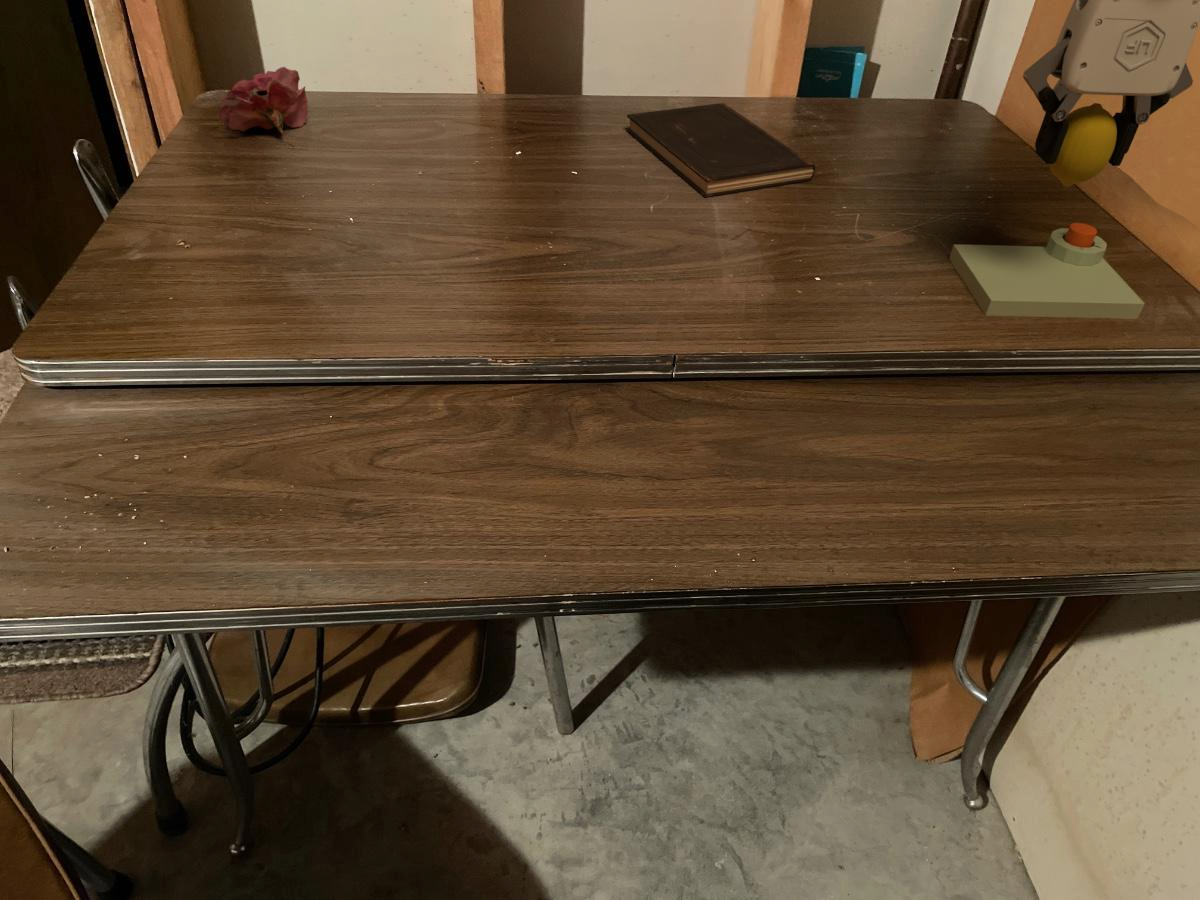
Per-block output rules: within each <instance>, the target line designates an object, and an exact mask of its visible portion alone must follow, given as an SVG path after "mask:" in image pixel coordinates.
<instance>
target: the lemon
mask: <svg viewBox="0 0 1200 900" xmlns="http://www.w3.org/2000/svg"><path fill="white" fill-rule="evenodd" d="M1065 120H1066V121H1067V122H1068V123H1069V128H1068V130H1067V133H1066V136H1065V138H1064V141H1063V144H1062V147H1061V149H1060V152H1059V155H1058V157H1057V160H1056V162H1055V163H1053V164H1047V165H1048V167H1049V171H1050V172H1051V173H1052V174H1053V175H1054V177H1055V178H1057V179H1058V180H1060V183H1061V184H1062V186H1063V187H1065V188H1070V187H1071V186H1073V185H1075V184H1078V183H1085V182H1088V181H1089V180H1091V179H1093V178H1095V177H1096V176H1097V175H1099V174H1100V173H1101V172H1102V171H1103V170H1104V168H1106V166H1107V164H1108V163H1109V162H1108V161H1109V159H1110V157H1111V155H1112V153H1113V151H1114V147H1115V144H1116V138H1117V127H1116V122H1115V120H1114V118H1113V115H1112V114H1111V113H1110V112H1109V111H1108V110H1107V109H1105V108H1103V105H1102V104H1101V103H1098V102H1094V103H1093V104H1091V105H1085V106H1082V107H1079V108H1076V109H1074V110H1071V111H1070V112H1069V114H1068V115H1067V117H1066V119H1065Z"/></svg>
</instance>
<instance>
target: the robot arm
mask: <svg viewBox="0 0 1200 900" xmlns="http://www.w3.org/2000/svg"><path fill="white" fill-rule="evenodd" d="M1199 24H1200V0H1073V2H1072V4H1071V7H1070V9H1069V11H1068V14H1067V15H1066V18H1065V20H1064V23H1063V25H1062V28H1061V30H1060V33H1059V36H1058V38H1057V40H1056V43H1055V46H1054V47H1052V48H1051V49H1050V50H1048V52H1046V53H1045V54H1044V55H1043V56H1042V57H1040V58H1039V59H1038V60H1037V61H1035V62H1034V63H1033V64H1032V65H1030V66H1029V67H1028V68H1027V69H1025V70H1024V72H1023V74H1022V78H1023V80H1024V82H1025V83H1026V84H1027V85H1028V87H1029V88H1030V90H1031V91H1032V92H1033V94H1034V96H1035V98H1036V99H1037V101H1038V102H1039V104H1040V106H1041V109H1042V110H1043V112H1044V113H1045V114H1044V117H1043V119H1042V122H1041V125H1040V127H1039V130H1038V133H1037V136H1036V139H1035V142H1034V148H1035V154H1036V155H1037V156H1038V157H1039V158H1040V159H1041V160H1042V162H1044V164H1046V165H1048V164H1053V163H1055V162H1056V160H1057V157H1058V155H1059V152H1060V149H1061V147H1062V144H1063V141H1064V138H1065V136H1066V133H1067V130H1068V128H1069V123H1068V122H1067V121H1066V120H1065V119H1066V117H1067V115H1068V114H1069V113H1071V112H1072V111H1073V108H1074V107H1075V106H1076V104H1077V103H1078V102H1079V100H1080V98H1081V97H1082V96H1083V95H1095V96H1096V95H1097V96H1100V95H1101V96H1122V105H1121V111H1120V112H1117V111H1116V112H1115V113H1114V115H1112V117H1113V118H1114V120H1115V122H1116V127H1117V138H1116V144H1115V147H1114V151H1113V153H1112V155H1111V157H1110V159H1109V161H1108V163H1109V164H1110V165H1111V166H1113V167H1119V166H1121V164H1122V162H1123V160H1124V157H1125V156H1126V154H1127V153H1128V152H1129V151H1130V148H1131V145H1132V143H1133V141H1134V139H1135V136H1136V133H1137V131H1138V129H1139V126H1140V125H1143V124H1145V123H1147V122H1148V121H1149V120H1150V116H1151V115H1152V114H1154V113H1156V112H1157V111H1158V110H1159V109H1161V108H1162V107H1164V106H1166V105H1167V104H1168V102H1169V101H1170V100H1171V99H1173V98H1175V97H1177V96H1178V95H1180V94H1182V93H1183V92H1185V91H1186V90H1188V89H1189V88H1190V87H1192V86H1193V83H1194V79H1193V77H1192V75H1191V72H1190V70H1189V67H1188V65H1187V60H1188V58H1189V55H1190V52H1191V49H1192V46H1193V44H1194V41H1195V37H1196V34H1197V32H1198V28H1199ZM1050 75H1051V76H1053V77H1054V78H1056V79H1058V81H1057V83H1056V84H1055V85H1054V86H1053V88H1052V87H1051V86H1050V84H1049V82H1048V78H1049V76H1050Z"/></svg>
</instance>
